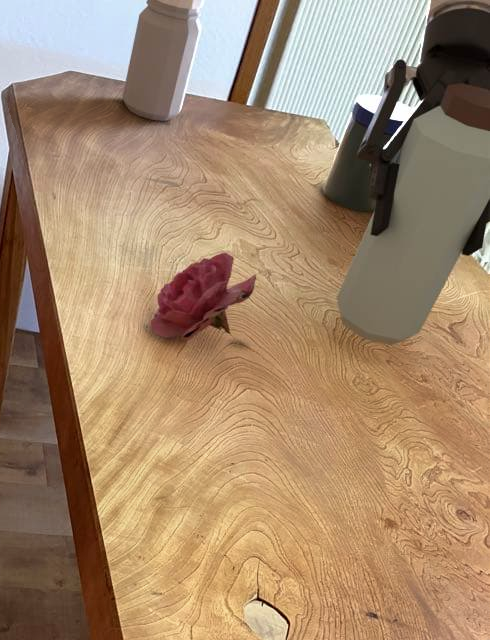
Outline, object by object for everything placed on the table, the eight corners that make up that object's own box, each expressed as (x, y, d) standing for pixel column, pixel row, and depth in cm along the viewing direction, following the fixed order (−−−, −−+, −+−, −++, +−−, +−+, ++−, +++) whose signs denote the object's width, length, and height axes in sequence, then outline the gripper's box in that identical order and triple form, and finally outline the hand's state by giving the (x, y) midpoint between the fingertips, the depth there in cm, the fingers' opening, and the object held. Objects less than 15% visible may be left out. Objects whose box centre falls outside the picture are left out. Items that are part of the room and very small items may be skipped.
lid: (426, 136, 126) (433, 122, 125) (376, 135, 123) (381, 120, 121) (388, 109, 132) (393, 95, 130) (338, 107, 128) (343, 93, 127)
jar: (191, 122, 145) (223, -2, 132) (141, 123, 140) (170, -5, 127) (158, 97, 150) (186, -24, 137) (109, 98, 145) (134, -28, 133)
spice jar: (391, 211, 134) (430, 125, 125) (344, 212, 130) (380, 124, 122) (357, 183, 139) (392, 99, 131) (311, 183, 136) (343, 97, 127)
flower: (138, 363, 98) (125, 269, 95) (198, 348, 104) (186, 259, 102) (218, 357, 90) (205, 253, 87) (278, 341, 96) (268, 244, 93)
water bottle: (315, 300, 103) (410, 71, 86) (387, 300, 107) (492, 80, 89) (358, 350, 97) (469, 114, 80) (432, 349, 101) (554, 122, 83)
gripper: (541, 69, 96) (506, 273, 96) (346, 23, 95) (310, 231, 94) (586, 30, 89) (548, 251, 89) (376, -21, 87) (336, 205, 87)
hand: (425, 241), depth 92 cm, fingers closed on water bottle, 9 cm apart
